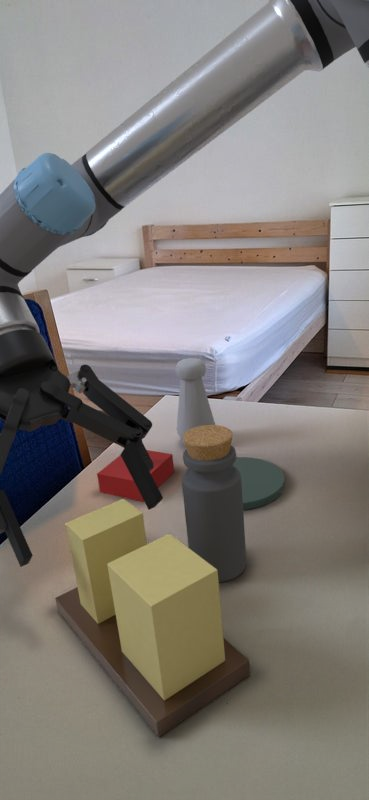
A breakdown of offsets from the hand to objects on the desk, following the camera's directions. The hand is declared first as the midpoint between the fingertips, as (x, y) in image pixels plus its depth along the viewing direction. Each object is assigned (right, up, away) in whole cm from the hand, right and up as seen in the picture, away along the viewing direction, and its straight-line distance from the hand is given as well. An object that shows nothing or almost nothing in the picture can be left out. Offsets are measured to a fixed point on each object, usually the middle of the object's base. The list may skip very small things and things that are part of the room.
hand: (95, 531), depth 56 cm
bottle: (+12, -5, +6) cm, 14 cm away
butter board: (+5, -9, -3) cm, 11 cm away
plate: (+15, +1, +21) cm, 26 cm away
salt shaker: (+10, +6, +34) cm, 36 cm away
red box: (+2, +1, +24) cm, 25 cm away
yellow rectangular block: (+2, -7, +1) cm, 7 cm away
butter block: (+7, -9, -7) cm, 13 cm away
